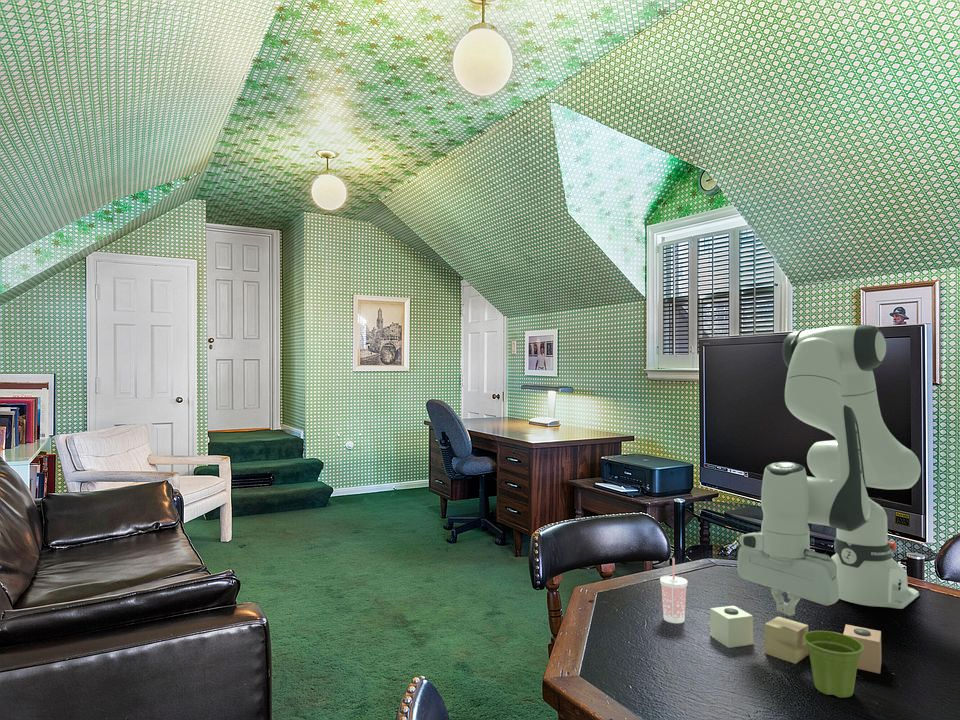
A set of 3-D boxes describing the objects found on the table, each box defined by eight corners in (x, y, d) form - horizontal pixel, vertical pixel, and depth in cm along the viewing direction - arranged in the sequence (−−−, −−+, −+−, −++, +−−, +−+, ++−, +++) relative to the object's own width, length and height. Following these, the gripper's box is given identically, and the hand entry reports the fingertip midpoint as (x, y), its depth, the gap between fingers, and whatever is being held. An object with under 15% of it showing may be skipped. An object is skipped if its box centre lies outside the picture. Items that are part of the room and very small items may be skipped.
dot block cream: (734, 633, 137) (734, 604, 137) (753, 644, 131) (752, 614, 131) (710, 636, 135) (710, 606, 135) (728, 648, 129) (728, 617, 130)
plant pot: (834, 707, 106) (833, 655, 107) (791, 680, 115) (791, 633, 116) (877, 699, 109) (876, 648, 109) (832, 674, 118) (832, 627, 118)
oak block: (778, 645, 131) (778, 616, 131) (808, 655, 126) (808, 625, 126) (764, 653, 127) (764, 623, 127) (795, 664, 122) (795, 633, 122)
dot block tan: (846, 654, 127) (845, 622, 127) (881, 662, 123) (880, 629, 123) (843, 665, 122) (843, 633, 122) (880, 674, 118) (879, 640, 118)
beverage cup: (689, 616, 146) (689, 556, 146) (686, 626, 140) (685, 563, 140) (662, 612, 148) (661, 553, 149) (658, 621, 143) (657, 560, 143)
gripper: (845, 554, 120) (846, 628, 119) (751, 531, 137) (752, 595, 137) (826, 559, 116) (827, 634, 116) (732, 534, 134) (732, 600, 134)
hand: (785, 613), depth 127 cm, fingers closed
